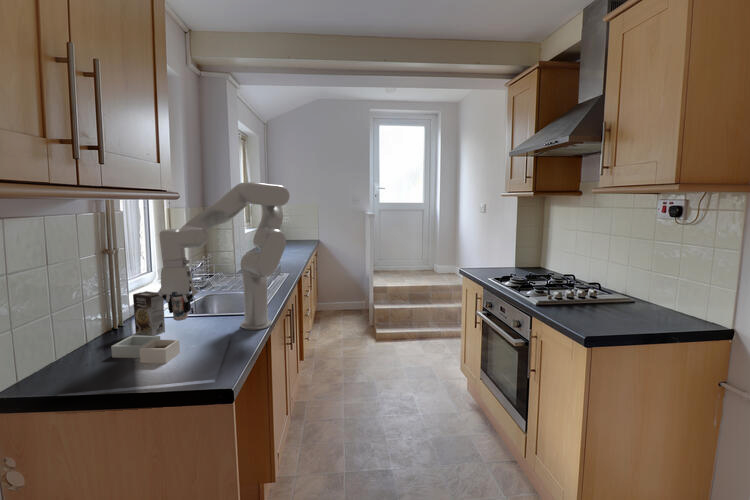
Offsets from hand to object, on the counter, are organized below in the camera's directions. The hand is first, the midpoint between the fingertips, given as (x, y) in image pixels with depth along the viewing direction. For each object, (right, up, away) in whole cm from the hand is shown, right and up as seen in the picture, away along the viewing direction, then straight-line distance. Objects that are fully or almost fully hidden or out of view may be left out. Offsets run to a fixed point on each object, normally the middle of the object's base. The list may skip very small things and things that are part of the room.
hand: (180, 311), depth 143 cm
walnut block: (+1, -13, -14) cm, 19 cm away
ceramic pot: (+1, -14, -14) cm, 20 cm away
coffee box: (-18, -11, +12) cm, 24 cm away
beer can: (0, -3, 0) cm, 3 cm away
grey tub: (-10, -13, -9) cm, 19 cm away
